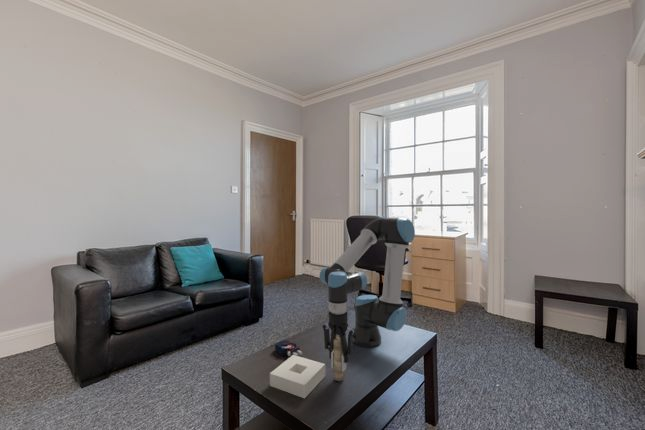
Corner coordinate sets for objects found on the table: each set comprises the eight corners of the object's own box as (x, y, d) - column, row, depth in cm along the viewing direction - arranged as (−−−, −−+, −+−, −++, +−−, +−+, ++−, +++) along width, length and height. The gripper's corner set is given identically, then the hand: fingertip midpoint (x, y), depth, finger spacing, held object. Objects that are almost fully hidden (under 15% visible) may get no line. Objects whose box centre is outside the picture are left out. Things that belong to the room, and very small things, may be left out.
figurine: (291, 354, 130) (271, 343, 141) (291, 363, 130) (272, 351, 141) (306, 347, 136) (286, 337, 147) (306, 356, 137) (286, 345, 147)
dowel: (336, 374, 120) (336, 336, 120) (345, 376, 118) (344, 338, 118) (332, 379, 117) (331, 340, 116) (341, 382, 115) (340, 342, 114)
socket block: (293, 365, 128) (293, 354, 128) (325, 375, 120) (325, 364, 120) (270, 385, 114) (269, 373, 114) (304, 398, 106) (304, 385, 106)
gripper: (314, 310, 117) (315, 367, 118) (354, 318, 109) (354, 379, 110) (323, 304, 124) (324, 358, 125) (361, 311, 116) (362, 368, 117)
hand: (338, 368), depth 117 cm, fingers closed on dowel, 4 cm apart
